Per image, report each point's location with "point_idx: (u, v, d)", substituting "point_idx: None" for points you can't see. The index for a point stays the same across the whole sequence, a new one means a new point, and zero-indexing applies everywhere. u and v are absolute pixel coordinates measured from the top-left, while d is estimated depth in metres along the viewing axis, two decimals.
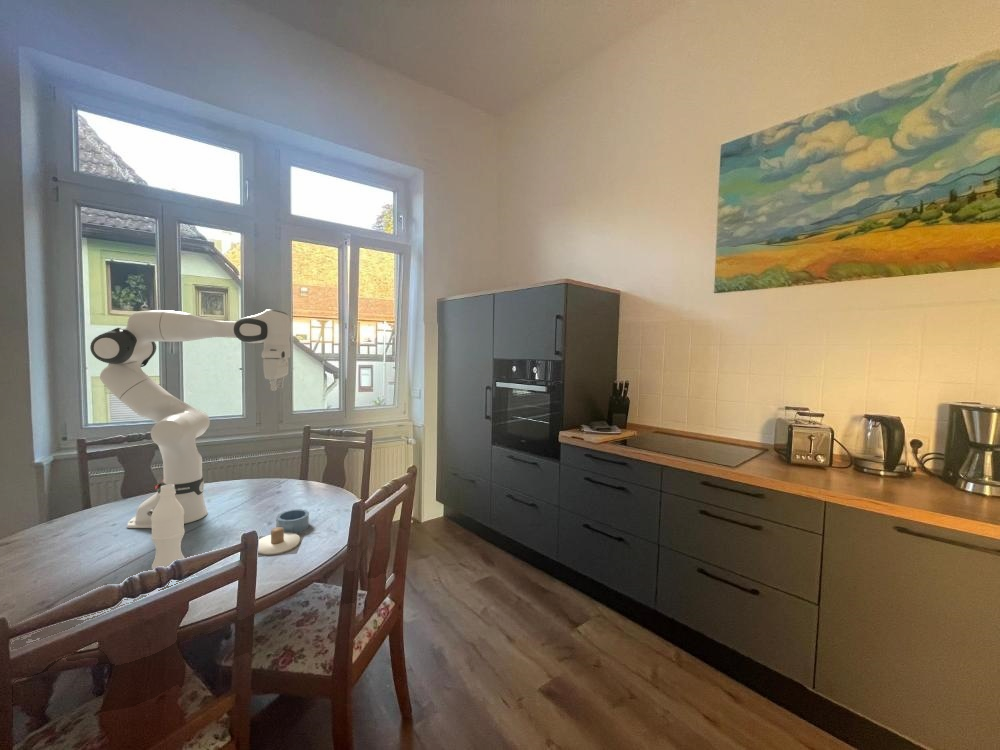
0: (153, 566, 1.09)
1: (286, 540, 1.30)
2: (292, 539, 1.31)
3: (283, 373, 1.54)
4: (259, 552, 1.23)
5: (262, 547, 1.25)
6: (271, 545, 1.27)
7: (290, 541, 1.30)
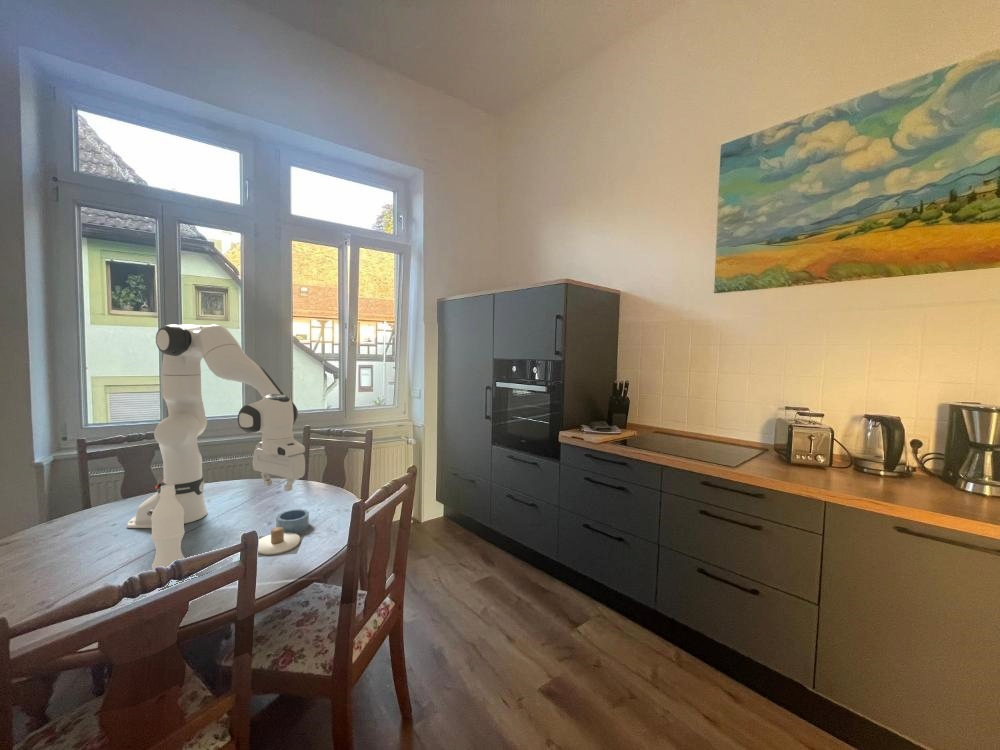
0: (153, 566, 1.09)
1: (286, 540, 1.30)
2: (292, 539, 1.31)
3: None
4: (259, 552, 1.23)
5: (262, 547, 1.25)
6: (271, 544, 1.27)
7: (290, 541, 1.30)
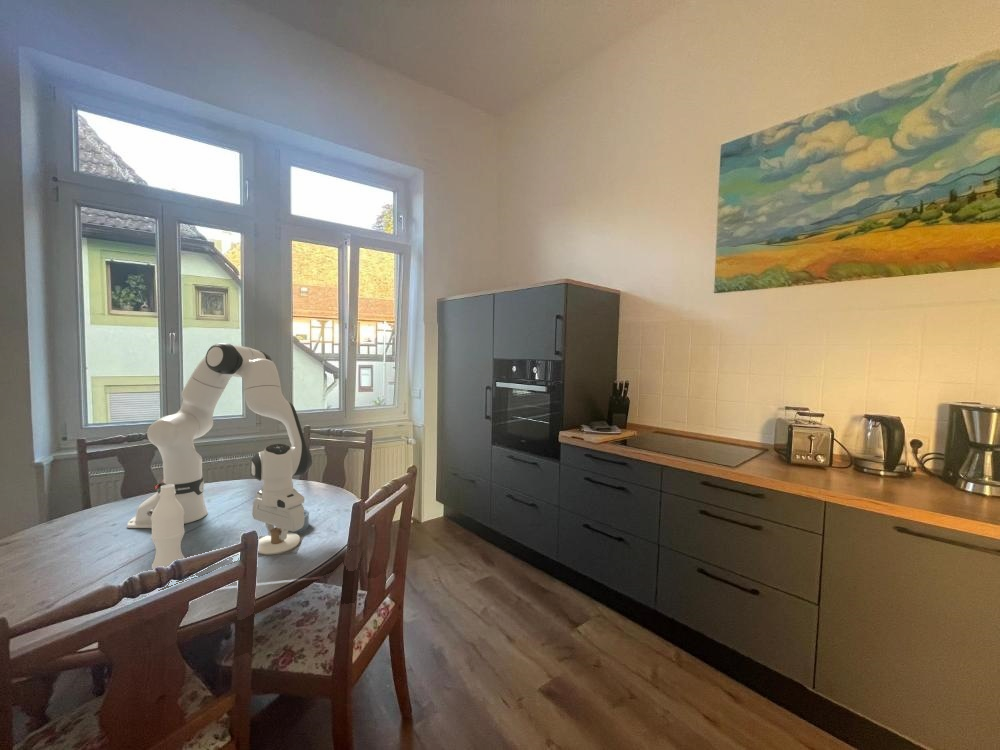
0: (153, 566, 1.09)
1: (286, 540, 1.30)
2: (292, 539, 1.31)
3: None
4: (259, 552, 1.23)
5: (262, 547, 1.25)
6: (271, 544, 1.27)
7: (290, 541, 1.30)
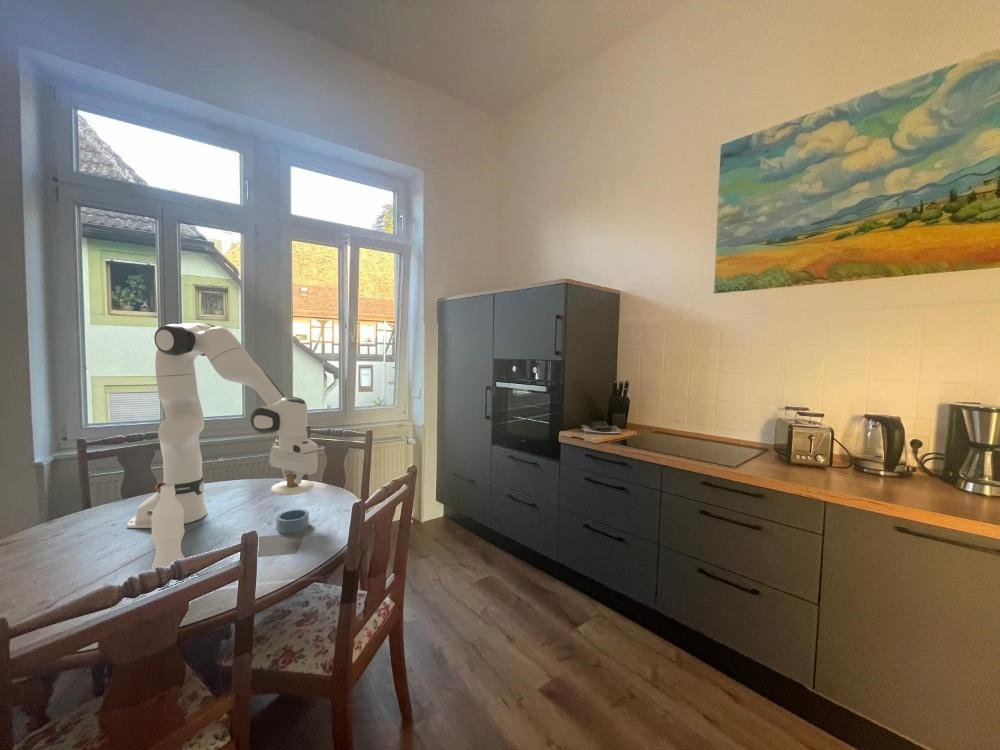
0: (153, 566, 1.09)
1: (300, 485, 1.42)
2: (306, 484, 1.43)
3: None
4: (276, 493, 1.35)
5: (279, 489, 1.37)
6: (287, 488, 1.39)
7: (304, 485, 1.41)
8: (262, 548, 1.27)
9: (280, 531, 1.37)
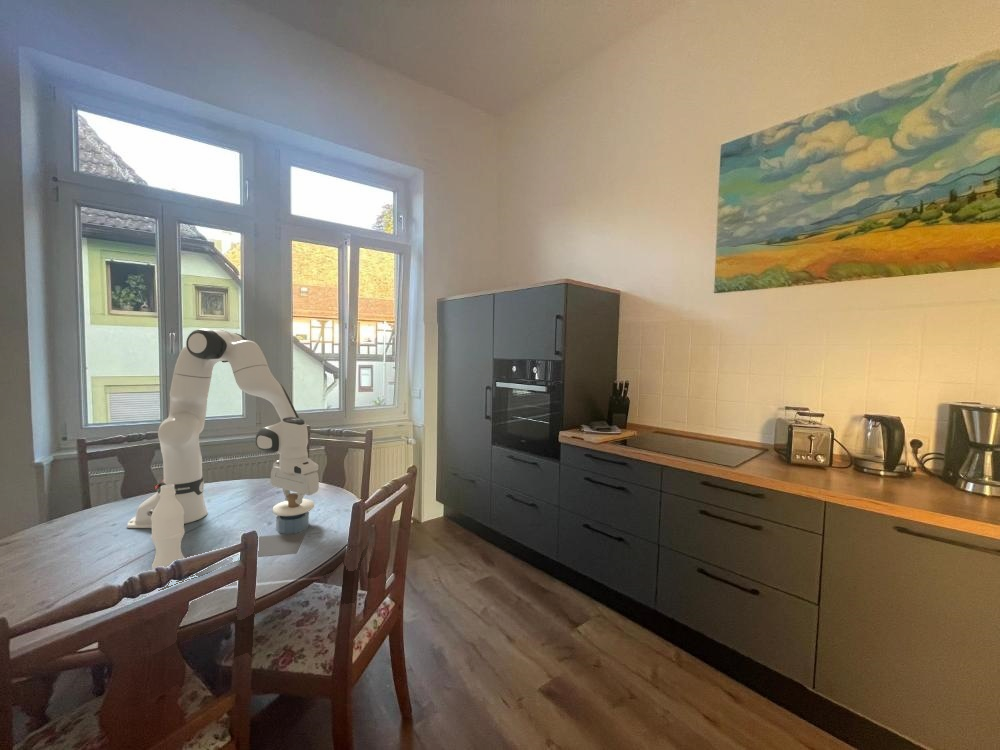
0: (153, 566, 1.09)
1: (302, 504, 1.43)
2: (307, 504, 1.44)
3: None
4: (278, 514, 1.36)
5: (280, 510, 1.38)
6: (289, 508, 1.40)
7: (305, 505, 1.42)
8: (262, 548, 1.27)
9: (280, 531, 1.37)
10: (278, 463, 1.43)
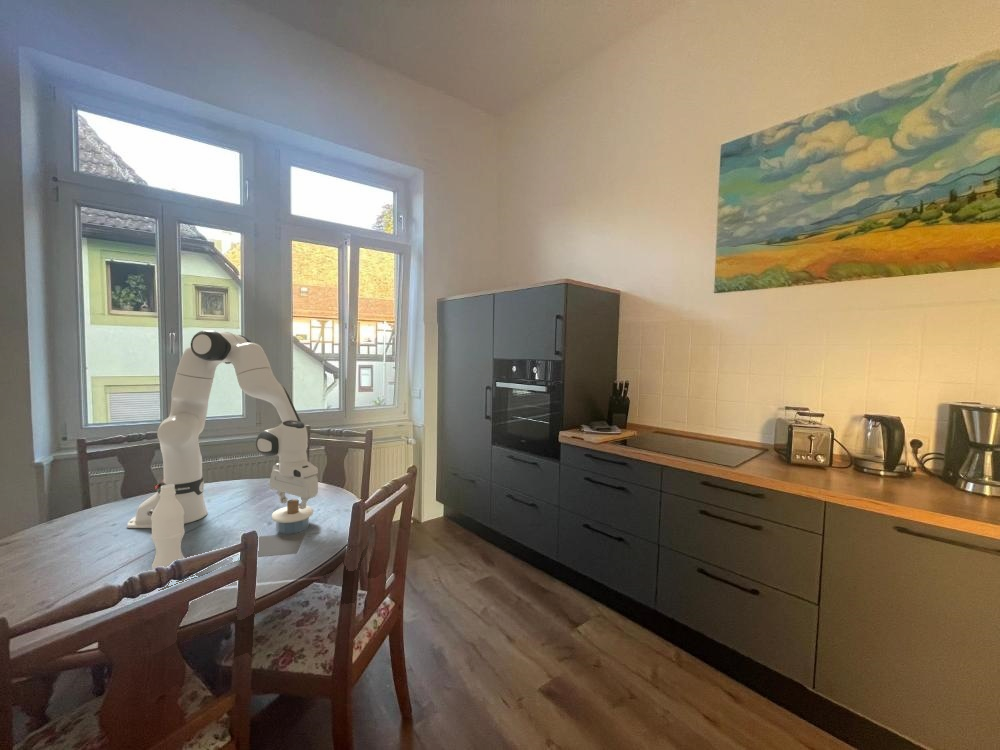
0: (153, 566, 1.09)
1: (301, 511, 1.43)
2: (306, 510, 1.44)
3: None
4: (277, 520, 1.36)
5: (279, 516, 1.38)
6: (288, 514, 1.39)
7: (304, 512, 1.42)
8: (262, 548, 1.27)
9: (280, 531, 1.37)
10: (278, 466, 1.43)
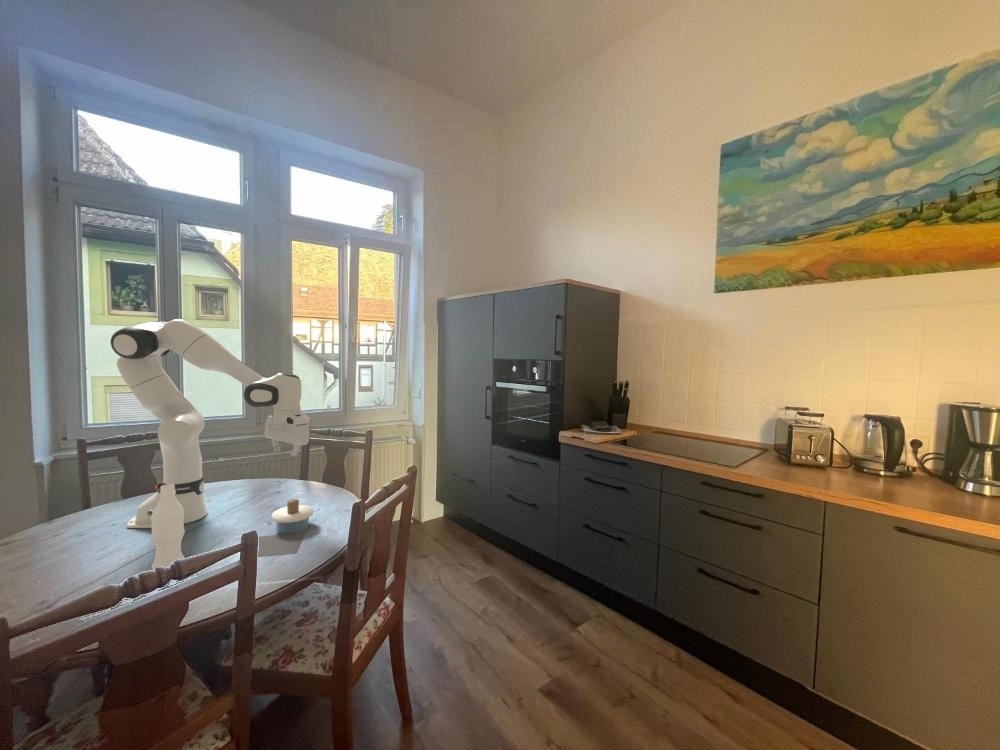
0: (153, 566, 1.09)
1: (301, 511, 1.43)
2: (306, 510, 1.44)
3: None
4: (277, 520, 1.36)
5: (279, 516, 1.38)
6: (288, 514, 1.39)
7: (304, 512, 1.42)
8: (262, 548, 1.27)
9: (280, 531, 1.37)
10: (272, 416, 1.51)
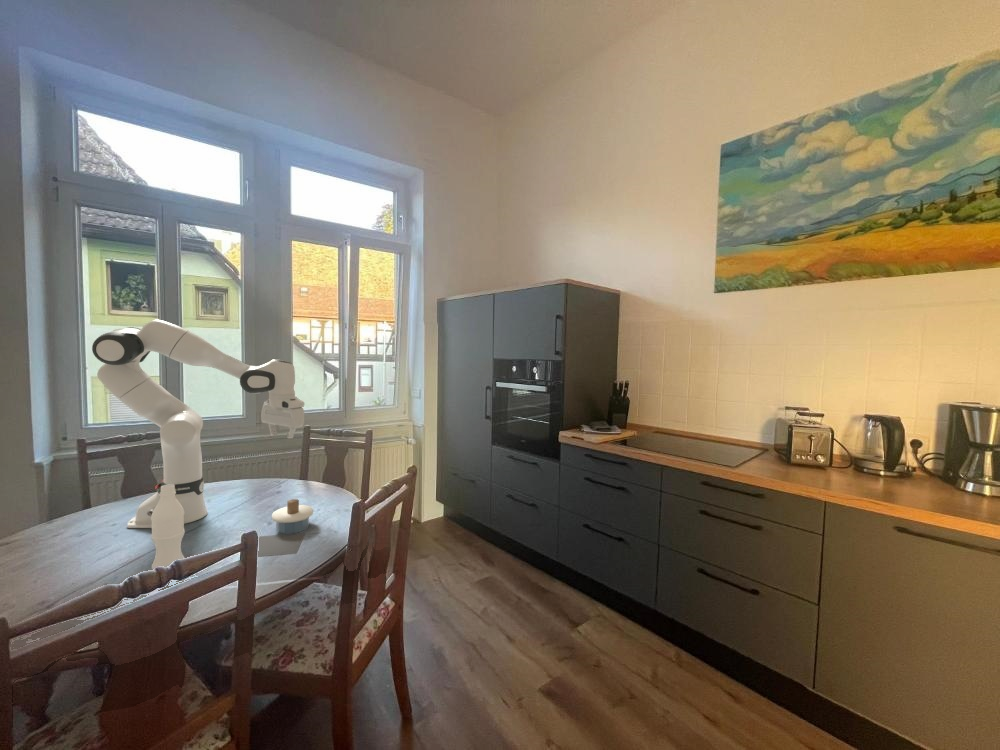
0: (153, 566, 1.09)
1: (301, 511, 1.43)
2: (306, 510, 1.44)
3: None
4: (277, 520, 1.36)
5: (279, 516, 1.38)
6: (288, 514, 1.39)
7: (304, 512, 1.42)
8: (262, 548, 1.27)
9: (280, 531, 1.37)
10: (268, 401, 1.58)
